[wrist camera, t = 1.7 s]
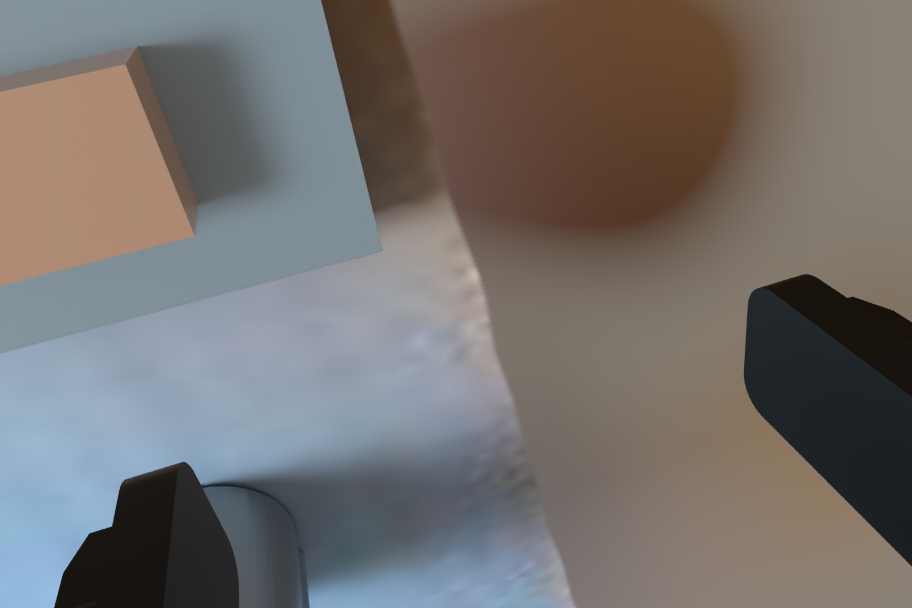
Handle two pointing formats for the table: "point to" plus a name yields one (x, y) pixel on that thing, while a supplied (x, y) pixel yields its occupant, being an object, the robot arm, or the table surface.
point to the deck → (207, 152)
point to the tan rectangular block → (86, 167)
